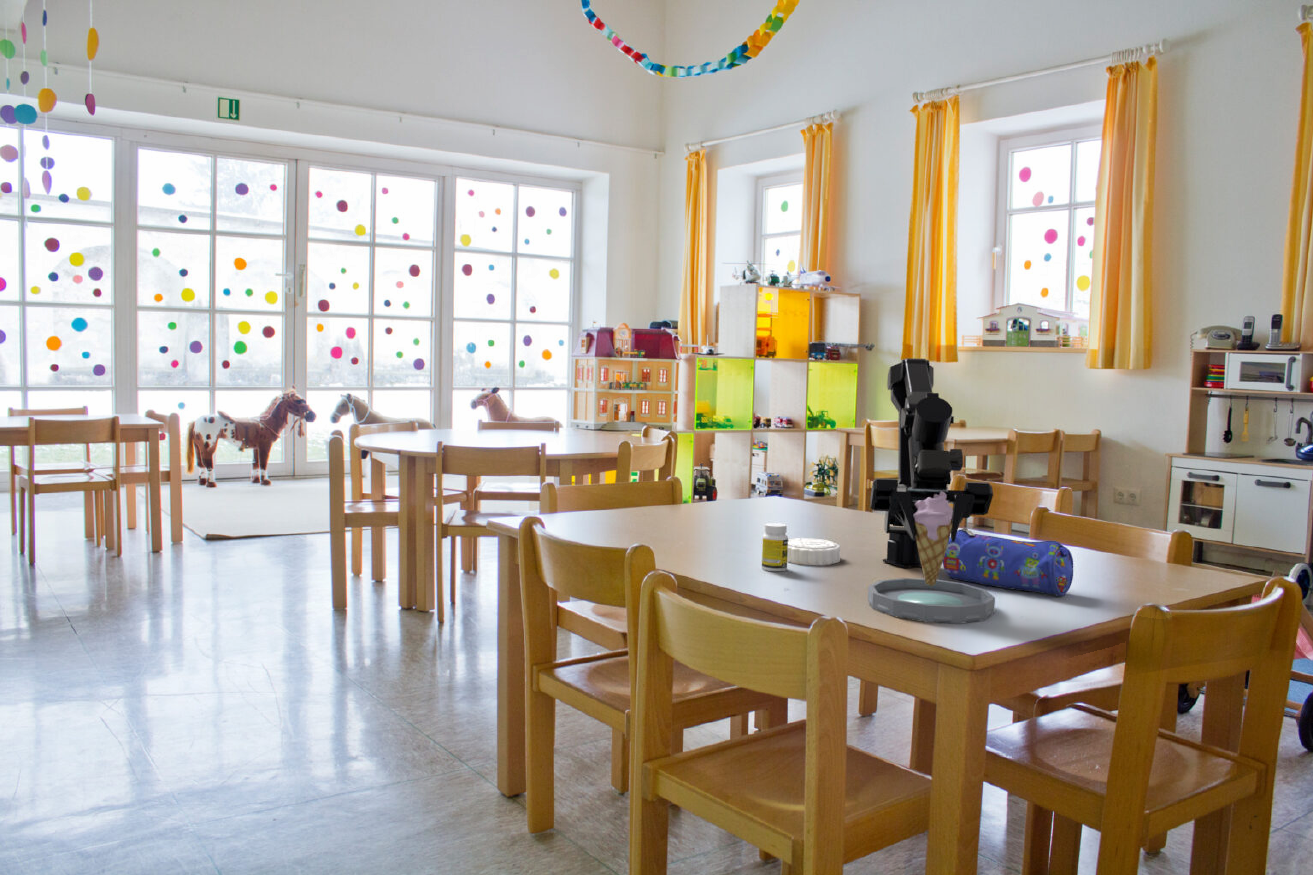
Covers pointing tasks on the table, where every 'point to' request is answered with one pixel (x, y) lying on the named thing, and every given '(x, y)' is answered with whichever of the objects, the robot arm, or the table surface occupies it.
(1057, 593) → the pencil case
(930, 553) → the ice cream cone
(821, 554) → the mooncake
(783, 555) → the supplement bottle
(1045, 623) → the table surface
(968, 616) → the round tray
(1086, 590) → the table surface
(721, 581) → the table surface
